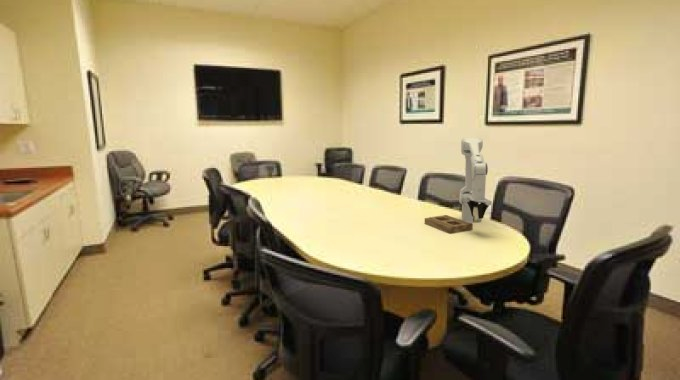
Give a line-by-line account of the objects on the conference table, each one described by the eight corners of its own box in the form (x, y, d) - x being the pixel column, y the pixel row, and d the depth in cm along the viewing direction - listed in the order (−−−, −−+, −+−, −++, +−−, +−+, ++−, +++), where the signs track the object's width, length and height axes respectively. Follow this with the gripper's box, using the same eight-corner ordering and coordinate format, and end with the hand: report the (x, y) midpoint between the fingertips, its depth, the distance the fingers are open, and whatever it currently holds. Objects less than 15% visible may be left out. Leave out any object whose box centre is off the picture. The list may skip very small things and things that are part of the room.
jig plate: (446, 220, 203) (446, 214, 203) (472, 229, 185) (472, 223, 185) (424, 223, 198) (424, 218, 197) (449, 233, 180) (449, 227, 179)
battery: (477, 219, 180) (478, 205, 179) (483, 221, 176) (484, 206, 175) (470, 220, 178) (471, 206, 177) (476, 222, 175) (477, 207, 174)
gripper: (461, 187, 180) (460, 214, 182) (483, 192, 166) (482, 222, 169) (472, 186, 182) (471, 213, 185) (495, 190, 169) (494, 220, 172)
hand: (477, 217), depth 177 cm, fingers closed on battery, 4 cm apart
